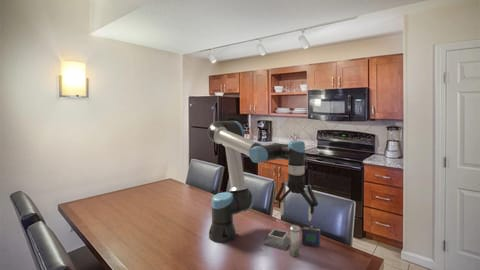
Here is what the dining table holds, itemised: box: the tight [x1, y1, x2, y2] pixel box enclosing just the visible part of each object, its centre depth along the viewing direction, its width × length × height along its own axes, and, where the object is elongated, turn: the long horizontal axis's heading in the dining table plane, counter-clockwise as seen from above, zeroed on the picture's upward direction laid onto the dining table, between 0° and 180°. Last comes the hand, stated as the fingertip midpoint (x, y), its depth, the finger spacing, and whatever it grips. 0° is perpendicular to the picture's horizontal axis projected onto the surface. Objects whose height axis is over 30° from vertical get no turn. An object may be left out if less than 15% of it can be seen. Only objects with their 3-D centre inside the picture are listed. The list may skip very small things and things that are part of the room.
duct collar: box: [263, 228, 290, 251], centre depth 140 cm, size 12×12×5 cm
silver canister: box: [289, 224, 301, 258], centre depth 127 cm, size 5×5×14 cm
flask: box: [301, 225, 321, 248], centre depth 136 cm, size 9×3×11 cm, turn 78°
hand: (295, 217), depth 126 cm, fingers open, 13 cm apart
